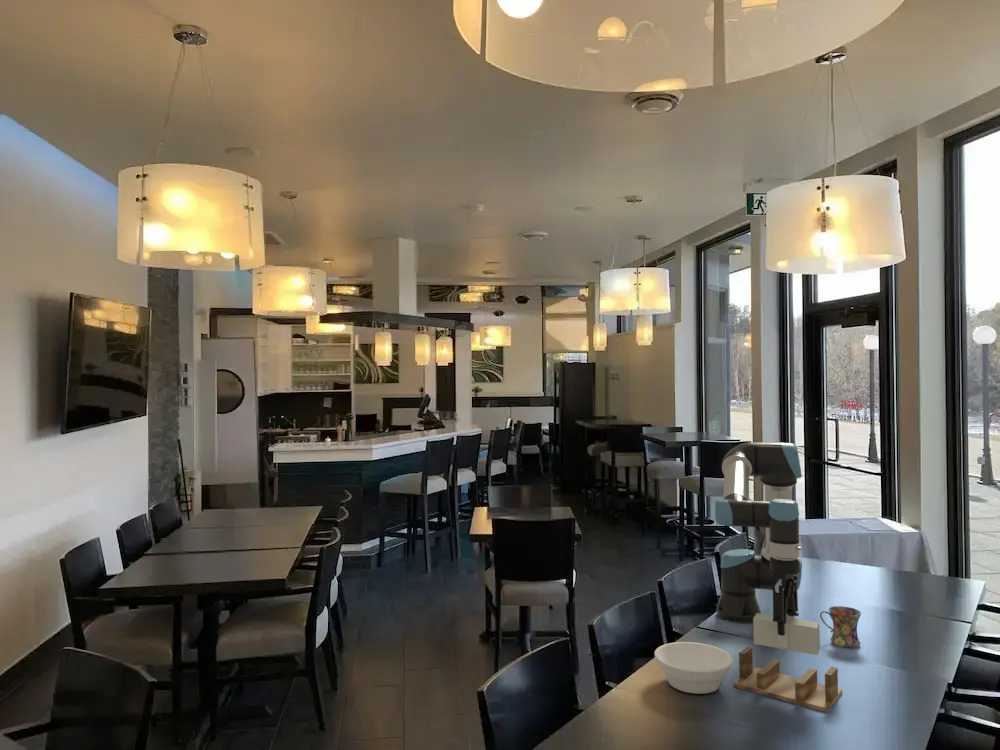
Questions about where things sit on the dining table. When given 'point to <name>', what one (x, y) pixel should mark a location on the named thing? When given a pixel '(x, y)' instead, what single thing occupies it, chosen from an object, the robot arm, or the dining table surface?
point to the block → (799, 634)
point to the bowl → (693, 666)
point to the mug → (844, 625)
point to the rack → (788, 683)
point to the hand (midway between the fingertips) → (786, 642)
